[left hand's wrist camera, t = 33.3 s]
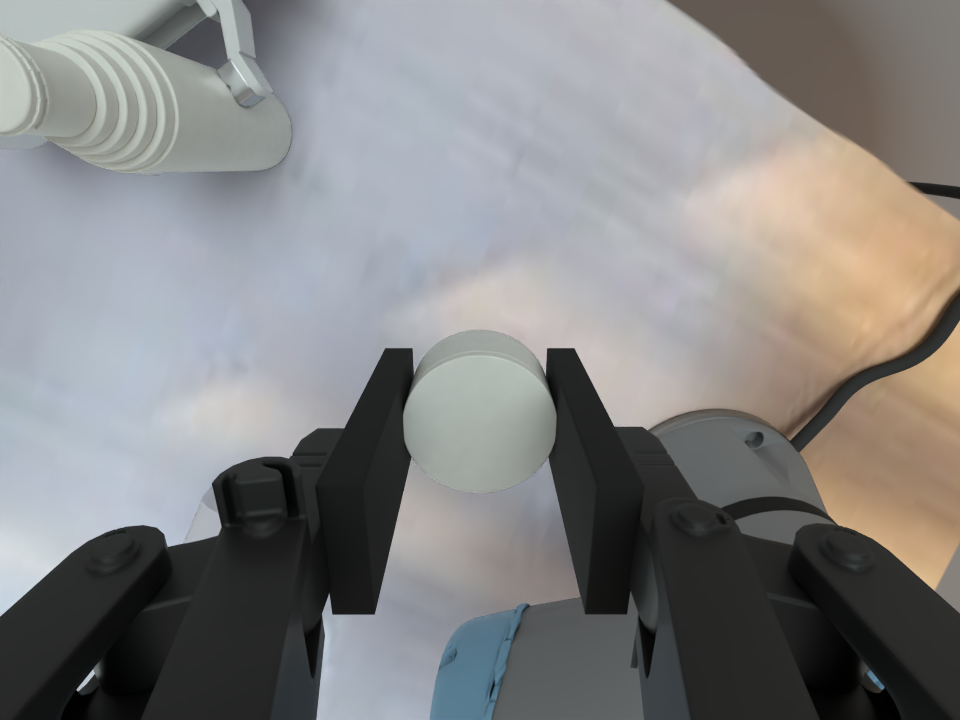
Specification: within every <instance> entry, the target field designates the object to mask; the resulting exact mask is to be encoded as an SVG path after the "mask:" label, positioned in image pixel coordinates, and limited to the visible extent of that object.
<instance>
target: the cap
mask: <svg viewBox="0 0 960 720" xmlns="http://www.w3.org/2000/svg"><path fill="white" fill-rule="evenodd" d="M556 419H557V413H556V409H555V405H554V402H553V398H552V395H551V392H550V389H549V386H548V382H547V379H546V376H545V373H544V371H543V368H542V366H541V364H540V362H539V361H538V359H537V358H536V357H535V355H534V354H533V353H532V352H531V351H530V350H529V349H528V348H527V347H526V346H525V345H523V344H522V343H521V342H519V341H518V340H516V339H514V338H513V337H510V336H508V335H505V334H503V333H499V332H495V331H489V330H471V331H465V332H461V333H457V334H454V335H452V336H449V337H447V338H445V339H444V340H442V341H440V342H439V343H437V344H436V345H435V346H434V347H432V348H431V349H430V350H429V351H428V352H427V354H426V355H425V356H424V357H423V359H422V360H421V362H420V363H419V365H418V367H417V370H416V372H415V375H414V378H413V381H412V384H411V388H410V391H409V394H408V397H407V401H406V404H405V408H404V411H403V426H404V440H405V444H406V447H407V449H408V451H409V453H410V455H411V457H412V458H413V460H414V461H415V463H416V464H417V465H418V466H419V467H420V468H421V470H422V471H423V472H425V473H426V474H427V475H428V476H429V477H431V478H432V479H434V480H435V481H437V482H438V483H440V484H442V485H444V486H447V487H449V488H452V489H455V490H459V491H463V492H470V493H490V492H496V491H501V490H504V489H508V488H511V487H513V486H515V485H517V484H519V483H521V482H523V481H524V480H526V479H528V478H529V477H530V476H531V475H533V474H534V473H535V472H536V471H537V470H538V469H539V468H540V467H541V466H542V465H543V463H544V462H545V461H546V459H547V458H548V456H549V454H550V452H551V451H552V448H553V445H554V443H555V436H556Z"/></svg>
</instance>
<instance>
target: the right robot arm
mask: <svg viewBox="0 0 960 720" xmlns="http://www.w3.org/2000/svg"><path fill="white" fill-rule="evenodd" d="M207 17H209V18H211V19H213V20H214V21H216V22H218V23H220V24H221V26H222V32H223V37H224V42H225V47H226V53H227V58H228V61H227V62H226V63H225V64H223V65H222V66H221V67H220V68H218V69H217V70H216V71H217V73H218V74H219V76H220V77H221V79H222V80H223V81H224V83H225V84H226V85H228V86H230V90H231V93H232V95H233V97H234V98H235V99H236V101H237V102H238V103H239V104H241V105H242V106H244V107H247V106H248V107H249V108H252V107H254V106H255V105H257V104H258V103H260V102H261V101H262V100H264V99H265V98H267V97H269V96H270V95H271V94H272V93H273V89H272V87H271V85H270V84H269V82H268V81H267V79H266V77H265V76H264V74H263V73H262V71H261V70H260V68H259V67H258V65H257V64H256V62H255V60H254V59H256V54H255V46H254V38H253V29H252V21H251V14H250V12H249V11H248V9H247V8H246V6H245V4H244V3H243V1H242V0H0V34H2V35H5V36H7V37H9V38H12V39H13V40H15V41H18V42H22V43H26V44H30V43H33V42H37V41H41V40H43V39H46V38H50V37H53V36H56V35H59V34H63V33H65V32H68V31H72V30H76V29H93V30H94V29H99V30H108V31H112V32H116V33H119V34H121V35H124V36H127V37H130V38H132V39H135V40H138V41H141V42H143V43H146V44H149V45H151V46H154V47H157V48H160V49H162V50H165V49H167V48H168V47H169V46H171V45H172V44H173V43H174V42H176V41H177V40H178V39H180V38H181V37H182V36H183V35H185V34H186V33H187V32H189V31H190V30H191V29H192V28H194V27H195V26H196V25H198V24H199V23H200V22H201V21H203V20H204V19H205V18H207ZM47 141H48V140H47V139H46V138H44V137H42V136H40V135H26V134H22V135H18V136H11V137H9V136H1V135H0V148H1V149H35V148H38V147H40V146H41V145H43V144H44V143H45V142H47ZM142 174H144V175H146V176H158V175H160V174H161V173H142Z"/></svg>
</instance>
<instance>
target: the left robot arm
mask: <svg viewBox="0 0 960 720" xmlns="http://www.w3.org/2000/svg"><path fill="white" fill-rule="evenodd" d="M905 182H906V183H907V184H908V185H909V186H911V187H912V188H913V189H915V190H916V191H917V192H919V193H921V194H929V195H936V196H943V197H950V198H955V199H960V187H958V186H950V185H940V184H932V183H920V182H907V181H905ZM959 321H960V294H959V295H958V296H957V297H956V298H955V299H954V301H953V302H952V303H951V305H950V306H949V308H948V309H947V311H946V312H945V314H944V315H943V317H942V318H941V320H940V322H939V323H938V325H937V326H936V328H935V329H934V331H933V332H932V333H931V335H930V336H929V337H928V338H927V339H926V340H925V341H924V342H923V343H922V344H921V345H920V346H919V347H917V348H916V349H915V350H913V351H912V352H910V353H909V354H907V355H905V356H903V357H901V358H899V359H896V360H893V361H891V362H888V363H885V364H881V365H879V366H876V367H873V368H870V369H868V370H865V371H863V372H861V373H859V374H857V375H856V376H854V377H853V378H851V379H850V380H848V381H847V382H846V383H844V384H843V385H842V386H841V387H840V388H839V389H838V390H837V391H836V392H835V393H834V394H833V395H832V397H831V398H830V399H829V400H828V402H827V403H826V404H825V405H824V406H823V408H822V409H821V410H820V411H819V412H818V413H817V414H816V415H815V416H814V417H813V418H812V419H811V420H810V421H809V422H808V423H807V424H806V426H805V427H804V428H803V429H802V430H801V431H800V432H799V433H798V434H797V435H796V436H795V437H794V438H793V439H792V440H791V441H789V440H788V439H787V438H786V437H785V436H784V435H783V434H781V433H780V432H779V431H778V430H777V429H776V428H775V427H773V426H772V425H770V424H769V423H767V422H766V421H764V420H762V419H760V418H758V417H756V416H753V415H750V414H747V413H744V412H739V411H734V410H726V409H711V410H702V411H695V412H691V413H687V414H684V415H680V416H677V417H675V418H672V419H670V420H668V421H666V422H664V423H662V424H660V425H658V426H656V427H655V428H653V429H652V430H650V431H647V430H646V429H644V428H643V427H614V425H613V423H612V421H611V419H610V417H609V415H608V413H607V411H606V410H605V408H604V406H603V404H602V402H601V400H600V398H599V396H598V394H597V392H596V390H595V388H594V386H593V384H592V382H591V380H590V378H589V376H588V374H587V372H586V370H585V368H584V366H583V364H582V363H581V361H580V359H579V357H578V355H577V353H576V351H575V349H574V348H547V364H546V379H547V382H548V386H549V389H550V392H551V395H552V398H553V402H554V405H555V409H556V413H557V419H556V436H555V443H554V445H553V448H552V451H551V452H550V454H549V456H548V458H549V462H550V466H551V471H552V475H553V479H554V484H555V488H556V492H557V496H558V501H559V505H560V509H561V514H562V518H563V522H564V527H565V531H566V535H567V539H568V544H569V548H570V552H571V557H572V561H573V565H574V570H575V574H576V578H577V582H578V587H579V591H580V595H581V597H580V598H574V599H568V600H562V601H557V602H551V603H545V604H539V605H534V606H530V605H529V604H527V603H524V604H520V605H519V606H518V607H517V608H516V609H513V610H508V611H504V612H500V613H496V614H491V615H487V616H483V617H478V618H474V619H472V620H469V621H467V622H466V623H464V624H463V625H461V626H460V627H459V628H458V629H457V630H456V631H455V632H454V634H453V635H452V637H451V638H450V640H449V642H448V644H447V646H446V648H445V651H444V653H443V655H442V659H441V662H440V666H439V670H438V674H437V677H436V682H435V688H434V693H433V699H432V706H431V713H430V720H960V613H959V612H957V611H956V610H955V609H954V608H953V607H952V606H951V605H950V604H948V603H947V602H946V601H945V600H944V599H943V598H942V597H941V596H939V595H938V594H937V593H936V592H935V591H934V590H933V589H932V588H930V587H929V586H928V585H927V584H926V583H925V582H924V581H923V580H921V579H920V578H919V577H918V576H917V575H916V574H915V573H914V572H912V571H911V570H910V569H909V568H908V567H907V566H906V565H905V564H903V563H902V562H901V561H900V560H899V559H898V558H897V557H895V556H894V555H893V554H892V553H891V552H890V551H889V550H887V549H886V548H885V547H883V546H882V545H880V544H879V543H877V542H876V541H875V540H873V539H871V538H869V537H867V536H865V535H863V534H861V533H859V532H857V531H855V530H852V529H849V528H846V527H845V528H844V527H843V526H838V525H837V524H836V523H835V522H834V521H833V519H832V518H831V517H830V516H828V513H827V511H826V509H825V506H824V504H823V502H822V499H821V497H820V495H819V492H818V490H817V487H816V485H815V483H814V480H813V478H812V476H811V473H810V471H809V469H808V466H807V464H806V462H805V461H804V459H803V457H802V456H801V455H800V453H799V452H800V451H801V450H802V449H803V448H804V447H805V446H806V445H807V444H808V443H809V442H810V441H811V440H812V439H813V438H814V437H815V436H816V435H817V434H818V433H819V432H820V431H821V430H822V429H823V428H824V427H825V426H826V425H827V424H828V423H829V422H830V421H831V419H832V418H833V417H834V416H835V415H836V414H837V413H838V411H839V410H840V409H841V408H842V406H843V405H844V404H845V403H846V402H847V400H848V399H849V398H850V397H851V396H852V395H853V394H854V393H856V392H857V391H858V390H859V389H861V388H862V387H864V386H865V385H867V384H869V383H871V382H873V381H875V380H877V379H880V378H883V377H886V376H889V375H892V374H895V373H898V372H901V371H903V370H906V369H908V368H911V367H913V366H915V365H917V364H919V363H920V362H922V361H924V360H925V359H927V358H928V357H929V356H931V355H932V354H933V353H934V352H935V351H937V350H938V349H939V348H940V347H941V346H942V344H943V343H944V342H945V341H946V340H947V338H948V337H949V336H950V334H951V333H952V331H953V330H954V328H955V327H956V325H957V324H958V322H959ZM413 378H414V370H413V351H412V348H385V350H384V352H383V354H382V356H381V358H380V360H379V362H378V364H377V366H376V368H375V370H374V372H373V374H372V376H371V378H370V379H369V381H368V383H367V385H366V387H365V389H364V391H363V393H362V395H361V397H360V399H359V401H358V403H357V405H356V407H355V409H354V411H353V413H352V415H351V417H350V419H349V421H348V423H347V424H346V426H345V428H318V429H316V430H315V431H313V432H312V433H311V434H309V435H308V436H306V437H305V438H303V439H302V440H301V441H300V443H299V444H298V446H297V447H296V449H295V450H294V452H293V456H291V457H290V458H289V459H287V458H283V457H261V458H256V459H251V460H247V461H244V462H242V463H239V464H236V465H234V466H232V467H230V468H229V469H227V470H226V471H224V472H222V473H221V474H220V475H219V476H218V477H217V478H216V479H215V480H214V482H213V483H212V487H213V491H214V496H215V500H216V505H217V509H218V514H219V518H220V523H221V530H220V532H219V534H218V535H217V536H214V537H211V538H207V539H203V540H199V541H194V542H189V543H185V544H180V545H175V546H170V547H167V543H166V540H165V536H164V534H163V533H162V532H161V531H160V530H159V529H157V528H155V527H150V526H145V525H141V526H130V527H124V528H119V529H117V530H112V531H109V532H106V533H104V534H102V535H100V536H98V537H96V538H94V539H92V540H90V541H88V542H86V543H85V544H83V545H82V546H81V547H79V548H78V549H76V550H75V551H74V552H72V553H71V554H70V555H69V556H68V557H67V558H65V559H64V560H63V561H62V562H61V563H60V564H59V565H58V566H56V567H55V568H54V569H53V570H52V571H51V572H50V573H49V574H48V575H46V576H45V577H44V578H43V579H42V580H41V581H40V582H39V583H37V584H36V585H35V586H34V587H33V588H32V589H31V590H30V591H29V592H27V593H26V594H25V595H24V596H23V597H22V598H21V599H20V600H18V601H17V602H16V603H15V604H14V605H13V606H12V607H11V608H10V609H8V610H7V611H6V612H5V613H4V614H3V615H2V616H1V617H0V720H316V716H317V706H318V697H319V687H320V678H321V668H322V658H323V649H324V639H325V633H324V626H323V619H322V612H323V609H324V606H325V604H326V601H327V598H328V595H329V592H330V600H331V607H332V614H333V615H341V614H375V611H376V607H377V602H378V598H379V594H380V590H381V585H382V581H383V577H384V572H385V568H386V564H387V560H388V555H389V551H390V547H391V542H392V538H393V534H394V529H395V525H396V521H397V517H398V512H399V508H400V504H401V499H402V495H403V491H404V486H405V482H406V478H407V474H408V469H409V465H410V461H411V455H410V453H409V451H408V449H407V447H406V444H405V440H404V426H403V411H404V408H405V404H406V401H407V397H408V394H409V391H410V388H411V384H412V381H413ZM93 669H94V672H95V674H94V676H93V677H92V678H91V679H90V681H89V682H88V683H87V684H86V685H85V686H84V687H83V688H82V689H81V690H80V691H79V692H78V691H77V690H76V689H77V688H78V687H79V686H80V684H81V683H82V682H83V681H84V679H85V678H86V677H87V676H88V675H89V673H90V672H91V671H92V670H93Z"/></svg>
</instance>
